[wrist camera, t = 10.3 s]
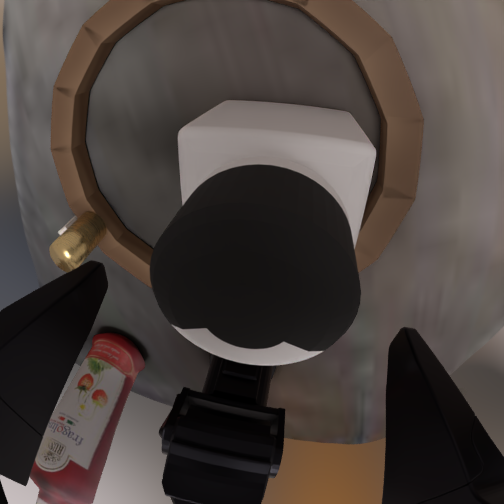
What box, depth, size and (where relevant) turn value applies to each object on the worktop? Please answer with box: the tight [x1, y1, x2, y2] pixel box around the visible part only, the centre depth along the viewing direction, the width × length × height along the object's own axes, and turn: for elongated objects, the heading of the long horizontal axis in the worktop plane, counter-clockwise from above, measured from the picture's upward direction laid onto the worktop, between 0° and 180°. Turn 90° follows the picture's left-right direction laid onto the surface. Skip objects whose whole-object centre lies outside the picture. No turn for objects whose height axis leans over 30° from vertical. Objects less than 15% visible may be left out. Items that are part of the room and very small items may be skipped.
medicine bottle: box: [150, 100, 376, 366], centre depth 13 cm, size 7×7×12 cm
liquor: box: [30, 333, 145, 504], centre depth 22 cm, size 7×7×28 cm
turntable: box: [50, 0, 424, 288], centre depth 15 cm, size 23×23×6 cm
